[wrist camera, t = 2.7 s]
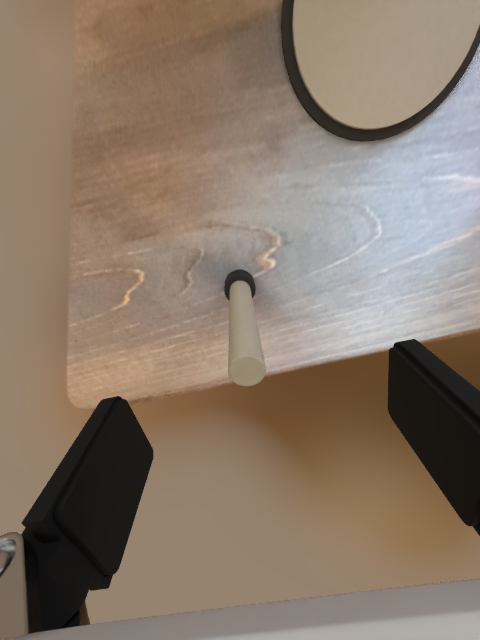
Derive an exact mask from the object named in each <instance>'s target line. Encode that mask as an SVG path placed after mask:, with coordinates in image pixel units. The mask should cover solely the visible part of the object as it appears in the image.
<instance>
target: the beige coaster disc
mask: <svg viewBox="0 0 480 640" xmlns="http://www.w3.org/2000/svg"><path fill="white" fill-rule="evenodd" d="M281 32H282V47H283V53H284V59H285V64H286V68H287V71H288V75H289V79H290V81H291V84H292V86H293V88H294V91H295V93H296V95H297V97H298V99H299V100H300V102H301V104H302V105H303V107H304V108H305V109H306V111H307V112H308V113H309V115H310V116H311V117H312V118H313V119H314V120H315V121H316V122H317V123H318V124H319V125H321V126H322V127H323V128H325V129H326V130H327V131H329V132H331V133H333V134H335V135H337V136H339V137H343V138H346V139H349V140H356V141H374V140H380V139H385V138H388V137H391V136H394V135H397V134H399V133H401V132H403V131H405V130H407V129H409V128H411V127H412V126H414V125H415V124H417V123H419V122H420V121H421V120H423V119H424V118H425V117H426V116H428V115H429V114H430V113H431V112H433V111H434V110H435V109H436V108H437V107H438V106H439V105H440V104H441V103H442V102H443V101H444V99H445V98H446V97H447V96H448V95H449V93H450V92H451V91H452V90H453V89H454V87H455V86H456V84H457V83H458V81H459V80H460V79H461V77H462V76H463V74H464V73H465V71H466V69H467V67H468V65H469V64H470V62H471V60H472V58H473V56H474V54H475V52H476V50H477V48H478V45H479V43H480V0H283V5H282V22H281Z"/></svg>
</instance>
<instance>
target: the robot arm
mask: <svg viewBox="0 0 480 640" xmlns="http://www.w3.org/2000/svg"><path fill="white" fill-rule="evenodd" d="M388 377H389V378H388V410H389V414H390V416H391V418H392V420H393V421H394V423H395V424H396V425H397V427H398V428H399V430H400V431H401V433H402V434H403V436H404V437H405V439H406V440H407V441H408V443H409V444H410V446H411V447H412V449H413V450H414V452H415V453H416V454H417V456H418V457H419V459H420V460H421V462H422V463H423V464H424V466H425V467H426V469H427V470H428V472H429V473H430V475H431V476H432V478H433V479H434V481H435V482H436V483H437V485H438V486H439V488H440V489H441V491H442V492H443V494H444V495H445V496H446V498H447V499H448V501H449V502H450V504H451V505H452V507H453V508H454V509H455V511H456V512H457V514H458V515H459V517H460V518H461V519H462V521H463V522H464V523H465V524H466V525H468V526H473V527H474V529H475V530H476V531H477V533H478V534H479V536H480V391H478V389H476V388H475V387H474V386H473V385H471V384H470V383H469V382H468V381H466V380H465V379H464V378H462V377H461V376H460V375H459V374H457V373H456V372H455V371H454V370H452V369H451V368H450V367H449V366H447V365H446V364H445V363H444V362H443V361H441V360H440V359H439V358H438V357H437V356H435V355H434V354H433V353H432V352H430V351H429V350H428V349H427V348H426V347H424V346H423V345H422V344H421V343H419V342H418V341H417V340H415V339H412V340H407V341H401V342H396V343H395V344H394V347H393V348H390V350H389V375H388ZM152 460H153V449H152V447H151V445H150V443H149V441H148V439H147V438H146V435H145V434H144V432H143V430H142V428H141V426H140V424H139V423H138V421H137V419H136V417H135V415H134V413H133V411H132V409H131V407H130V406H129V404H128V402H127V401H126V400H125V399H122V398H121V397H119V396H117V397H112V398H107V399H103V400H101V401H100V403H99V404H98V406H97V407H96V409H95V410H94V412H93V414H92V415H91V417H90V418H89V420H88V421H87V423H86V424H85V426H84V427H83V429H82V431H81V432H80V434H79V435H78V437H77V438H76V440H75V441H74V443H73V444H72V446H71V447H70V449H69V451H68V452H67V454H66V455H65V457H64V458H63V460H62V462H61V463H60V465H59V466H58V468H57V469H56V471H55V472H54V474H53V476H52V477H51V478H50V480H49V481H48V483H47V485H46V486H45V488H44V489H43V491H42V492H41V494H40V496H39V497H38V498H37V500H36V502H35V503H34V505H33V506H32V508H31V509H30V511H29V513H28V514H27V516H26V517H25V519H24V520H23V522H22V524H23V525H24V526H25V527H26V528H25V530H24V531H23V533H22V535H21V534H19V533H17V532H11V533H7V534H4V535H2V536H0V640H480V579H472V580H462V581H450V582H441V583H432V584H424V585H415V586H406V587H397V588H388V589H380V590H370V591H361V592H353V593H344V594H335V595H326V596H318V597H309V598H301V599H292V600H284V601H276V602H267V603H259V604H251V605H243V606H235V607H225V608H218V609H209V610H201V611H193V612H184V613H176V614H168V615H161V616H152V617H144V618H137V619H129V620H120V621H112V622H104V623H96V624H90V623H89V618H88V613H87V608H86V603H85V599H86V596H87V593H88V591H89V589H90V590H99V589H106V588H109V586H110V582H111V579H112V576H113V574H115V573H116V572H117V570H118V569H119V566H120V563H121V560H122V557H123V554H124V550H125V547H126V544H127V541H128V538H129V534H130V531H131V528H132V525H133V522H134V518H135V515H136V512H137V509H138V505H139V502H140V499H141V496H142V493H143V489H144V486H145V483H146V480H147V476H148V473H149V470H150V467H151V464H152Z"/></svg>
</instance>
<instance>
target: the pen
mask: <svg viewBox="0 0 480 640" xmlns="http://www.w3.org/2000/svg"><path fill="white" fill-rule="evenodd" d="M225 295H226V297H227V299H228V300H229V301H230V302H229V356H228V373H229V376H230V378H231V379H232V381H234V382H235V383H236V384H238V385H242V386H252V385H255V384H257V383H259V382H260V381H261V380H262V379H263V378H264V376H265V373H266V366H265V361H264V356H263V351H262V346H261V340H260V335H259V330H258V325H257V320H256V315H255V310H254V305H253V300H252V298H253V297H254V295H255V284H254V280H253V278H252V276H251V275H250V274H249V273H248V272H246V271H244V270H235V271H233V272H231V273H230V274H229V275H228V276H227V278H226V280H225Z"/></svg>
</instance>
